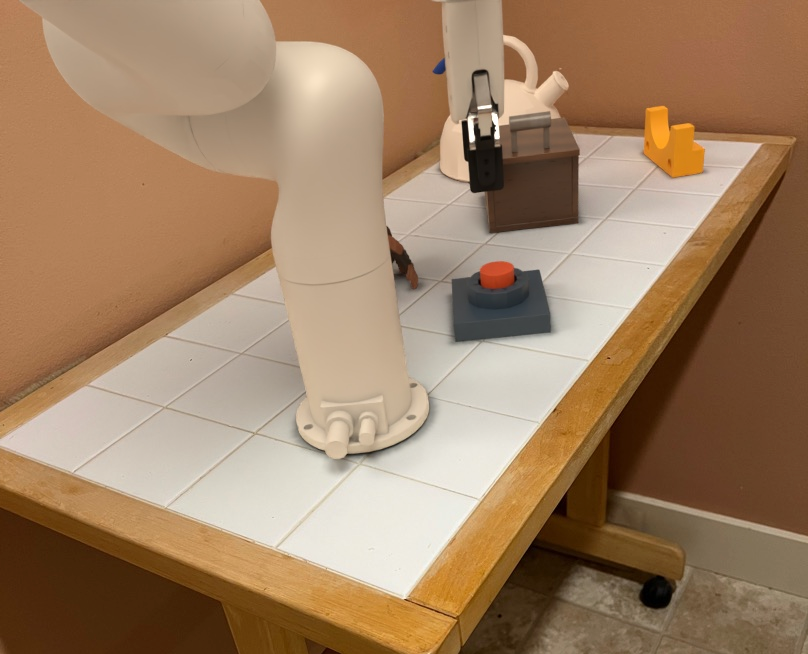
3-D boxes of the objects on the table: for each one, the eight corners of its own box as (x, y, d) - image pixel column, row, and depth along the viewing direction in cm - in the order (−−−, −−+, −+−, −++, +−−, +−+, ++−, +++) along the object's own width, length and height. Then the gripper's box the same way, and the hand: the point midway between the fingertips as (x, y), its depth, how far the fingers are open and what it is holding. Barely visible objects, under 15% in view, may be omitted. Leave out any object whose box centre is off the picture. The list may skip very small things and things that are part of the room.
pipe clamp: (702, 172, 114) (707, 124, 110) (672, 177, 114) (676, 129, 110) (671, 148, 124) (674, 103, 120) (643, 153, 124) (645, 108, 120)
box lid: (579, 155, 100) (580, 112, 97) (485, 167, 101) (483, 125, 98) (564, 123, 111) (564, 83, 108) (480, 133, 112) (477, 95, 109)
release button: (515, 288, 85) (515, 273, 84) (481, 292, 86) (480, 277, 85) (513, 274, 88) (512, 259, 87) (480, 278, 89) (478, 263, 88)
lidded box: (578, 223, 106) (578, 153, 101) (489, 233, 107) (485, 165, 102) (565, 187, 117) (564, 123, 111) (484, 197, 118) (480, 134, 112)
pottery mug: (423, 303, 95) (381, 254, 89) (359, 335, 99) (316, 291, 94) (425, 238, 102) (386, 190, 96) (366, 272, 106) (325, 228, 101)
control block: (550, 332, 84) (550, 297, 82) (455, 342, 86) (451, 308, 83) (539, 287, 93) (539, 254, 91) (453, 296, 94) (450, 263, 92)
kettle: (556, 182, 119) (555, 45, 107) (423, 185, 125) (408, 56, 114) (579, 139, 133) (580, 14, 122) (458, 143, 140) (448, 25, 129)
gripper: (425, -31, 78) (442, 153, 88) (430, -5, 64) (449, 209, 75) (504, -43, 77) (511, 144, 88) (525, -19, 63) (531, 199, 74)
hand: (483, 174), depth 81 cm, fingers open, 9 cm apart
